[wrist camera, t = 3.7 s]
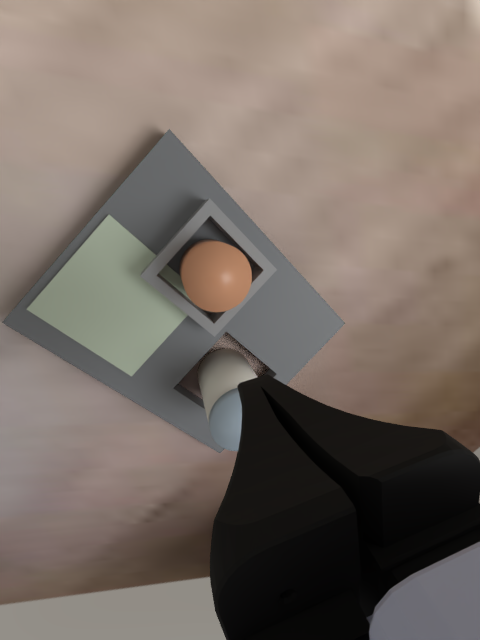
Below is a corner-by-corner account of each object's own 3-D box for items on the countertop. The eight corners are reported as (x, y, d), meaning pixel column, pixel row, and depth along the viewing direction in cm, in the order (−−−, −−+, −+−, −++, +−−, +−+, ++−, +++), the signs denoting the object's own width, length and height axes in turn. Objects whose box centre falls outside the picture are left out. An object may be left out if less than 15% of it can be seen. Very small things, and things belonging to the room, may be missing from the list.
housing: (217, 442, 24) (224, 469, 22) (11, 315, 18) (-14, 332, 15) (336, 318, 23) (358, 330, 21) (168, 135, 17) (170, 119, 14)
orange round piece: (210, 309, 19) (219, 325, 16) (166, 271, 17) (167, 281, 15) (249, 267, 19) (265, 276, 16) (207, 226, 17) (217, 227, 14)
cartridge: (224, 404, 23) (244, 461, 18) (186, 377, 22) (195, 431, 16) (259, 368, 23) (290, 414, 18) (222, 338, 22) (244, 378, 16)
